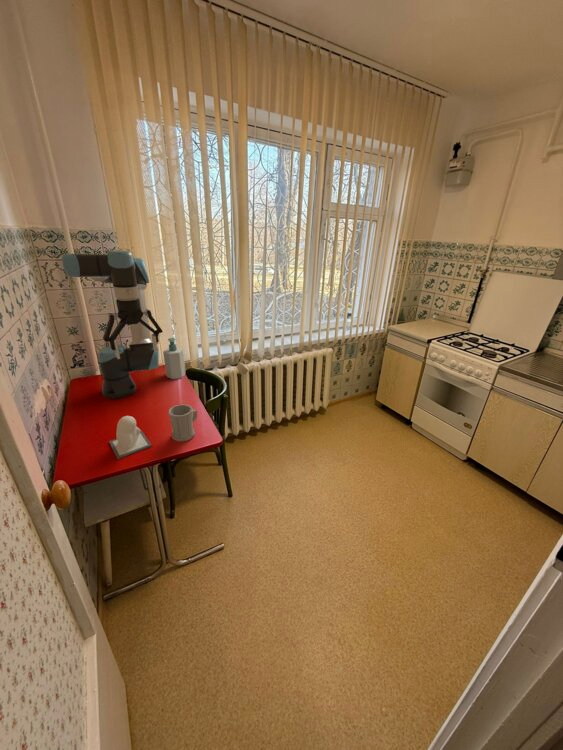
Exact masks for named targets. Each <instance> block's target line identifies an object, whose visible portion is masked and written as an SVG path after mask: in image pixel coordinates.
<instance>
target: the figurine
mask: <svg viewBox="0 0 563 750" xmlns="http://www.w3.org/2000/svg"><path fill="white" fill-rule="evenodd" d="M140 431H141V429H140V428H139V427H138V426H137V420H136V419H135V418H134V417H133V416H130V415H125V416H122V417H121V418H120V419H119V420H118V422H117V425H116V432H115V433H116V435H115V436H116V439H117V441H118V444H119V445H120V447H122V448H130V447H132V446H134V445H135V444H136V443H137V440H138V437H139V434H140Z"/></svg>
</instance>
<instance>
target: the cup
mask: <svg viewBox="0 0 563 750" xmlns="http://www.w3.org/2000/svg"><path fill="white" fill-rule="evenodd" d="M168 415H169V420H170V423H171V431H172V432H171V437H172V440H174V441H176V442H187V441H190V440H191V439H192V438H194V437H195V432H196V431H195V429H194V424H193V423H194V422H195V421H197V418H198V411H197V410H196V409H193V407H192V406H191V405H189V404H183V403H182V404H177V405H174V406H172V407H171V408H169V410H168Z"/></svg>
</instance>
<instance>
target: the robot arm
mask: <svg viewBox="0 0 563 750" xmlns="http://www.w3.org/2000/svg"><path fill="white" fill-rule="evenodd" d="M61 262H62V267H63V270H64V273H65V274H66V275H67V277H70V278H90V279H91V280H93V281H94V282H95V281H96V282H101V283H107V284H112V286H113V287H112V288H113V294H114V296H115V298H116V300H115V302H116V308H117V313H110V312H109V313H108V321H107V324H106V327H105V330H104V333H103V336H102V339H103V341H104V342H106V343H107V342H108V343H109V344H110V345H108V346H106V347H105V348H101V350H99V352H98V353H97V357H98V363H99V365H100V370H101V375H102V378H103V383H102V389H101V392H102V396H103V397H105V399H121V398H126V397H129V396H131V395H133V394H134V393H136V391H137V385H136V383H135V381H134V379H133V378H132V376H131V373H130V372H132V373H133V372H140V371H141V372H142V371H150V370H154V369H157V368H158V367H159V365H160V364H159V362H160V360H159V358H160V357H159V353H160V352H159V350H160V349H159V348H160V347H159V345H158V344H159V342H160V340H159V335H160V334H161V333H163V329H162V327H161V326H160V324H158V322H157V321H156V319H155V318H154V317H153V316H152V311H151V310H150V309H148V308H147V302H146V296H145V295H146V294H145V290H146V289H147V287H148V286H147V284H149V283H150V279H149V276H148V272H147V271H148V270H147V268H146V265H145V261H144V260H143V259H142V258H139V257H134V256H133V254H132V252H131V251H128V250H109V251H108V252H107V254H105V253H103V254H102V253H99V254H98V253H97V254H94V253H93V254H92V253H89V254H88V253H85V254H84V253H66V254H63V255H62V258H61ZM117 318H118V319H119V321H118V324H117V326H116V327H115V329H114V330H113V328H114V323H115V321H116V320H117ZM149 321H150V322H151V323H152V324H153V326H154V328H156V330H155V329H154V328H153V327H152V326H151V325H150V323H149ZM126 325H127V326H129V327H130V335H131V342H130V343H129V347H127V348H126V347H125V346H124V344H118V342H117V340H116V339H117V337H118V336H119V335H120V333H121V332H122V330H123V329H124V328H125V327H126ZM112 330H113V331H112ZM157 343H158V344H157Z"/></svg>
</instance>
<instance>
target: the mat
mask: <svg viewBox="0 0 563 750" xmlns="http://www.w3.org/2000/svg"><path fill="white" fill-rule="evenodd" d="M108 442H109V445H110V446H111V448H112V451H113V453H114V454H115V457H116V459H117V460H120V459H123V458H126V457H127V456H130V455H132V454H136V453H138V452H141V451H143V450H146V449H149V448H151V447H153V446H152V444H151V441H149V439H148V438H147V436H146V435H145V433H144V432H143V430H141V429H140V434H139V437H138V440H137V443H136V444H135V445H134V446H132V447H130V448H122V447H120V445H119V444H118V441H117V438H115V439H112V440H109V441H108Z"/></svg>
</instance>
